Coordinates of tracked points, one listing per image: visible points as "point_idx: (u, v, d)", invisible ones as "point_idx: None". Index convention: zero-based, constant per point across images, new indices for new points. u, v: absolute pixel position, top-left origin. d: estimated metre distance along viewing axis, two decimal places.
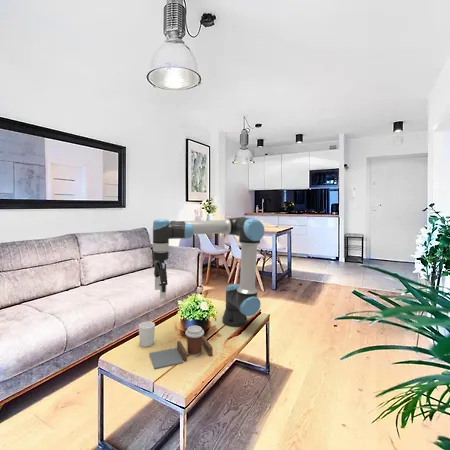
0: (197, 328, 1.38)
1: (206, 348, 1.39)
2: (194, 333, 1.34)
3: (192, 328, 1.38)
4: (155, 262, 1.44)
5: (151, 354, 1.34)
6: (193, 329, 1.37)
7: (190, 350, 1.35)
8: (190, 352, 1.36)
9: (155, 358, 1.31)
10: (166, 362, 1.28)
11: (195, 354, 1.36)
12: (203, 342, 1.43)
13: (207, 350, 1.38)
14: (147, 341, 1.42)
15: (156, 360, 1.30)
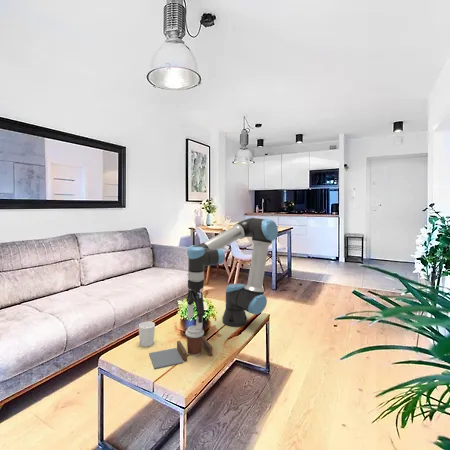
0: None
1: (206, 348, 1.39)
2: (194, 333, 1.34)
3: (192, 328, 1.38)
4: None
5: (151, 354, 1.34)
6: (193, 329, 1.37)
7: (190, 350, 1.35)
8: (190, 352, 1.36)
9: (155, 358, 1.31)
10: (166, 362, 1.28)
11: (195, 354, 1.36)
12: (203, 342, 1.43)
13: (207, 350, 1.38)
14: (147, 341, 1.42)
15: (156, 360, 1.30)
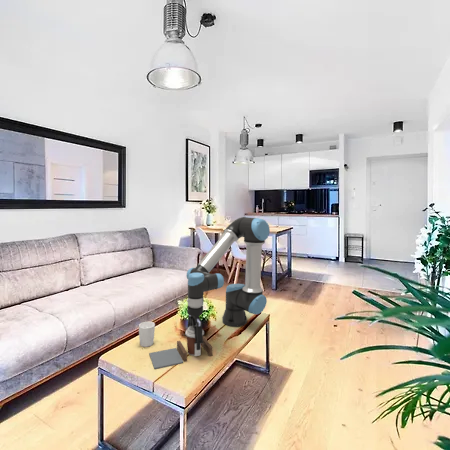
0: None
1: (206, 348, 1.39)
2: (194, 333, 1.34)
3: (192, 328, 1.38)
4: (188, 316, 1.42)
5: (151, 354, 1.34)
6: (193, 329, 1.37)
7: (190, 350, 1.35)
8: (190, 352, 1.36)
9: (155, 358, 1.31)
10: (166, 362, 1.28)
11: None
12: (203, 342, 1.43)
13: (207, 350, 1.38)
14: (147, 341, 1.42)
15: (156, 360, 1.30)
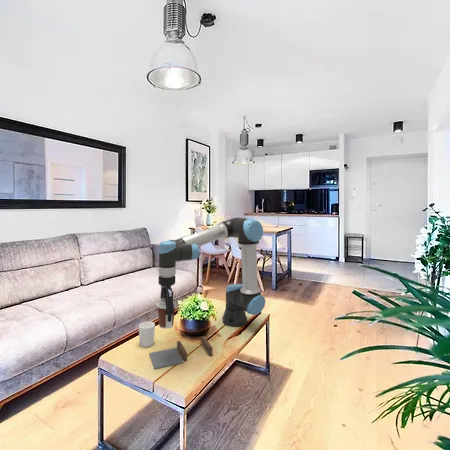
0: None
1: (206, 348, 1.39)
2: (165, 304, 1.26)
3: (164, 300, 1.30)
4: (161, 288, 1.35)
5: (151, 354, 1.34)
6: (165, 301, 1.29)
7: (161, 322, 1.28)
8: (161, 325, 1.28)
9: (155, 358, 1.31)
10: (166, 362, 1.28)
11: None
12: (203, 342, 1.43)
13: (207, 350, 1.38)
14: (147, 341, 1.42)
15: (156, 360, 1.30)
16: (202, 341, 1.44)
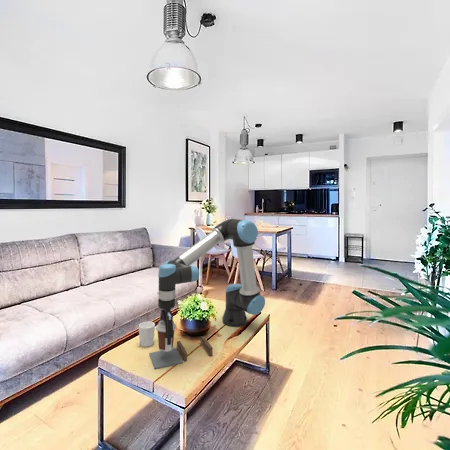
0: None
1: (206, 348, 1.39)
2: None
3: (163, 322, 1.31)
4: None
5: (151, 354, 1.34)
6: (164, 323, 1.30)
7: (161, 345, 1.29)
8: (161, 347, 1.29)
9: (155, 358, 1.31)
10: (166, 362, 1.28)
11: None
12: (203, 342, 1.43)
13: (207, 350, 1.38)
14: (147, 341, 1.42)
15: (156, 360, 1.30)
16: (202, 341, 1.44)
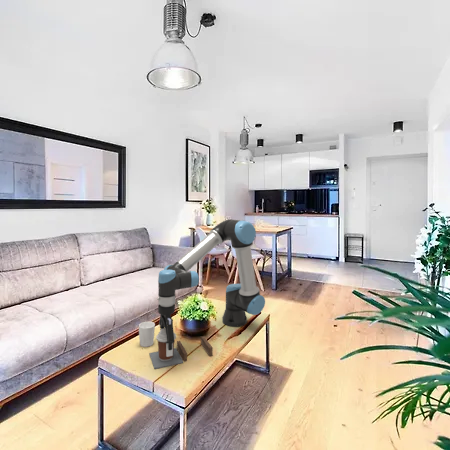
0: None
1: (206, 348, 1.39)
2: (165, 337, 1.28)
3: (164, 332, 1.32)
4: (160, 313, 1.36)
5: (151, 354, 1.34)
6: (164, 333, 1.31)
7: (161, 355, 1.29)
8: (161, 357, 1.29)
9: (155, 358, 1.31)
10: (166, 362, 1.28)
11: (166, 359, 1.29)
12: (203, 342, 1.43)
13: (207, 350, 1.38)
14: (147, 341, 1.42)
15: (156, 360, 1.30)
16: (202, 341, 1.44)
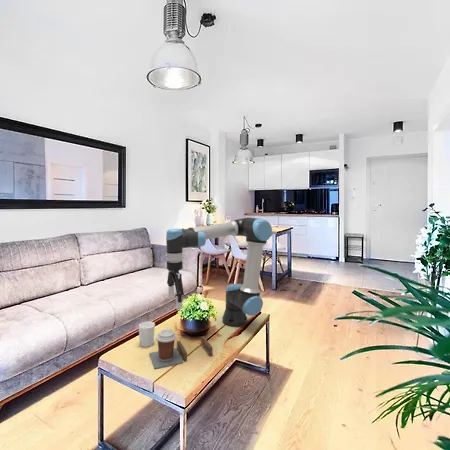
0: (169, 332, 1.32)
1: (206, 348, 1.39)
2: (165, 337, 1.28)
3: (164, 332, 1.32)
4: None
5: (151, 354, 1.34)
6: (164, 333, 1.31)
7: (161, 355, 1.29)
8: (161, 357, 1.29)
9: (155, 358, 1.31)
10: (166, 362, 1.28)
11: (166, 359, 1.29)
12: (203, 342, 1.43)
13: (207, 350, 1.38)
14: (147, 341, 1.42)
15: (156, 360, 1.30)
16: (202, 341, 1.44)
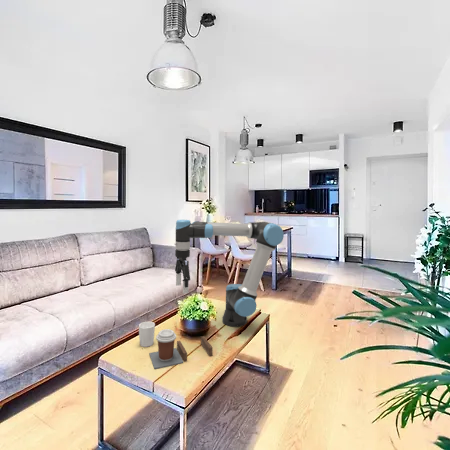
0: (169, 332, 1.32)
1: (206, 348, 1.39)
2: (165, 337, 1.28)
3: (164, 332, 1.32)
4: None
5: (151, 354, 1.34)
6: (164, 333, 1.31)
7: (161, 355, 1.29)
8: (161, 357, 1.29)
9: (155, 358, 1.31)
10: (166, 362, 1.28)
11: (166, 359, 1.29)
12: (203, 342, 1.43)
13: (207, 350, 1.38)
14: (147, 341, 1.42)
15: (156, 360, 1.30)
16: (202, 341, 1.44)
